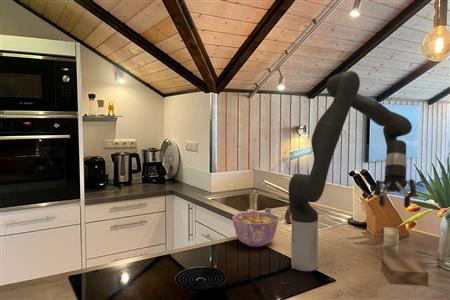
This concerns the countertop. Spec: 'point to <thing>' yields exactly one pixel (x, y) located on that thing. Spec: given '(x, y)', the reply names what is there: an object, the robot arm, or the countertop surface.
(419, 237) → the countertop surface
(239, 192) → the countertop surface
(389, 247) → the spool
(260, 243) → the bowl of food
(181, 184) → the countertop surface
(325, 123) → the robot arm
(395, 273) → the walnut base
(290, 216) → the tin
